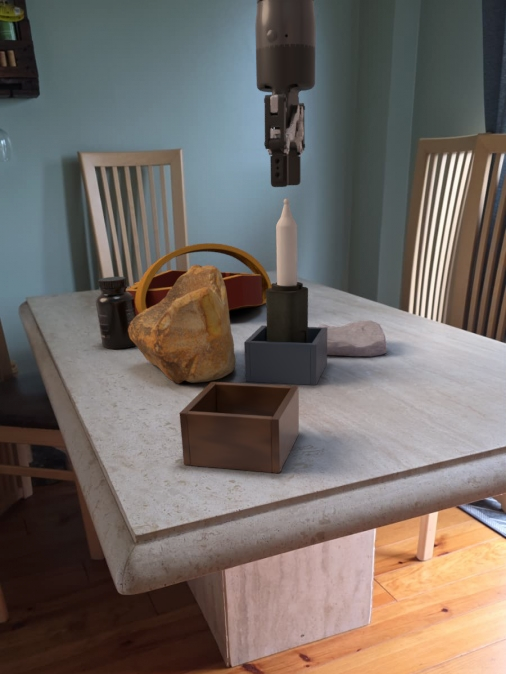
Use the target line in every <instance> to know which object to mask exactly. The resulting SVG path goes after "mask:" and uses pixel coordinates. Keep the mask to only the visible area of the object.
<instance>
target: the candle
mask: <svg viewBox="0 0 506 674" xmlns="http://www.w3.org/2000/svg"><path fill="white" fill-rule="evenodd" d="M290 202H291V201H290V199H289V198H288V197H287V198H284V199H283V208H282V211H281V215H280V218H279V219H278V221H277V223H276V225H275V226H276V227H275V232H276V235H275V237H276V240H275V241H276V282H275V283H273V282H272V283H271V288H269V289H267V290H266V303H265V304H266V307H265V310H266V312H265V313H266V326H267V342H292V343H308V327H309V287H307V286H304V284H303V282H300V281H298V224H297V222H296V220H295V219H294V217H293V214H292V211H291V206H290Z"/></svg>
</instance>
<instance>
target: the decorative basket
mask: <svg viewBox="0 0 506 674" xmlns="http://www.w3.org/2000/svg"><path fill="white" fill-rule="evenodd" d="M200 252H201V253H202V252H203V253H204V252H205V253H206V252H207V253H218V254H223V255H226V256H229V257H232V258H234V259H235V260H237V261H238V262H240V263H241V264H243V265H245V266H246V267H247V268H248V269H249V270H250V271H251V272H252V273H248V272H247V273H246V272H227V271H225V272H224V271H220V272H221V275H222V278H223V281H224V284H225V287H226V293H227V301H228V308H229V312H231V311H238V310H243V309H250V308H254V307H259V306H262V305H264V304H266V290H267V289H269V288H271V284H272V282H271V279H270V276H269V274H268V273H267V271H266V269H265V267H264V266H263V265H262V264H261V263H260V261H258V260H257V258H256V257H254V256H253V255H252V254H250V253H248V252H247V251H245V250H243V249H241V248H239V247H236V246H232V245H228V244H223V243H215V242H214V243H213V242H212V243H209V242H208V243H206V242H205V243H196V244H191V245H187V246H184V247H180V248H178V249H176V250H173V251H171V252H170V253H167V254H165V255H164V256H162V257H160V258H159V259H157V260H156V261H155V262H154V263H153V264H151V265H150V266H149V267H148V268H147V270H146V271H145V272H144V273H143V276H141V278H140V280H139V281H137V282H134V283H133V285H131V286H130V287H129V288H126V291H127V292H129V293H130V294H132V296H133V297H134V303H135V310H136V316H137V315H138V314H140V313H141V312H142V311H144V310H145V309H148V308H150V307H152V306H154V305H156V304H158V303H160V302H161V301H162V300H163V299H164V298H165V297H166V295H167V293H168V292H169V290H170V289H171V287H173V286H174V284H175V282H176V281H177V280H178V278H179V277H180V276H182V275H183V274H185V273H186V272H187V271H188V270H182V269H181V270H178V269H169V270H166V271H165V270H164V271H162V272H159V270H160V269H161V268H162V267H163V266H164V265H166V264H167V263H168V262H170V261H171V260H173V259H175V258H176V257H180V256H183V255H187V254H193V253H200ZM158 272H159V273H158Z"/></svg>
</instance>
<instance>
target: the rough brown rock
mask: <svg viewBox="0 0 506 674" xmlns="http://www.w3.org/2000/svg"><path fill="white" fill-rule="evenodd" d="M186 271H187V272H186V273H185V274H183V275H182V276H180V277H179V278H178V280H177V281H176V282H175V284H174V286H173V287H171V289H170V290H169V292H168V293H167V295H166V297H165V298H164V299H163V300H162V301H161V302H160V303H158V304H156V305H154V306H152V307H150V308H148V309H145V310H144V311H142V312H141V313H140V314H138V315H137V316H136V317H135V318H134V319H133V320H132V321H131V323H130V325H129V328H128V332H129V336H130V339H131V340H132V341H133V342H134V343H135V346H136V347H137V349H138V350H139V351H140V352H141V353H142V355H143V356H144V358H145V359H146V361H148V362H149V363H150V364H151V365H153V366H156V367H157V368H158V369H159V370H161V372H162V373H163V374H164V375H165V376H166V377H167V378H168V379H169V380H170V381H173V382H174V383H176V384H182V383H183V382H184V381H185V382H188V383H208V382H213V381H216V380H219V379H222V378H224V377H226V376H228V375H229V374H231V373H233V371H234V370H235V369H236V366H237V359H236V358H237V357H236V353H235V343H234V337H233V334H232V326H231V319H230V311H229V308H228V301H227V293H226V287H225V284H224V281H223V278H222V275H221V272H222V271H220V269H219V268H218V267H217V266H215V265H210V264H209V265H208V264H206V265H203V266H202V265H200V264H193V265H191V266H190V267H189V268H188V270H186Z"/></svg>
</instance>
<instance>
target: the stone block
mask: <svg viewBox="0 0 506 674" xmlns="http://www.w3.org/2000/svg"><path fill="white" fill-rule="evenodd" d="M317 327H322V328H323V327H327V328H328V329H327V356H343V357H377V356H382V355H384V354H386V353H387V350H388V349H387V348H388V347H387V346H388V345H387V340H386V335H385V332H384V330H383V328H382V326H381V324H380V323H378V322H377V321H373V320H361V321H360V320H359V321H356V322H350V323H347V324H345V325H341V326H340V325H339V326H335V325H334V326H330V325H327V324H320V325H318V326H317Z"/></svg>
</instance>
